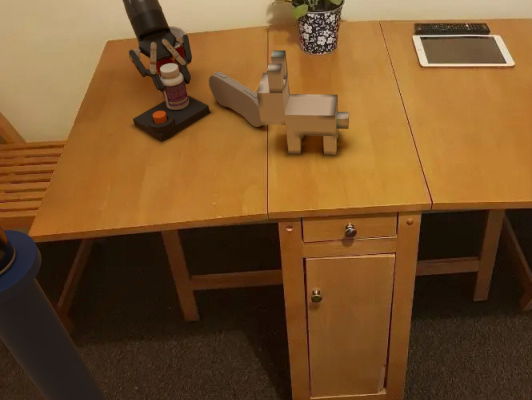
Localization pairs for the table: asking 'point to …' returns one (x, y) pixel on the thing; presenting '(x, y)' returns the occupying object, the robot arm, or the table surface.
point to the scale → (171, 119)
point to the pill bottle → (174, 87)
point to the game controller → (235, 97)
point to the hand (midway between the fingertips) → (175, 86)
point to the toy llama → (298, 109)
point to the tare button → (159, 117)
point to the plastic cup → (177, 33)
